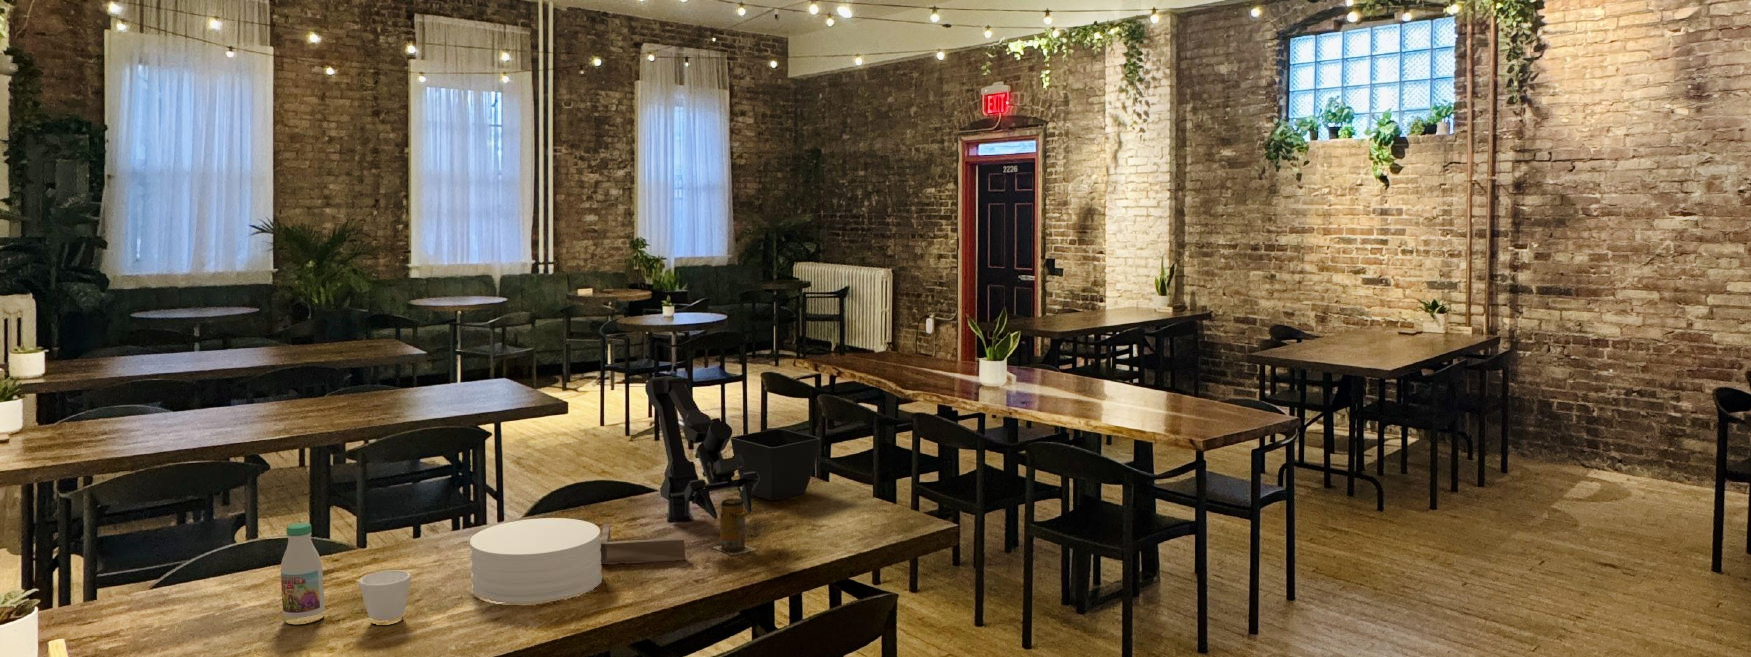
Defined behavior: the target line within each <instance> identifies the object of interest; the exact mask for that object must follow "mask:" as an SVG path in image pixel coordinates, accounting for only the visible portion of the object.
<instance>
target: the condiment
mask: <svg viewBox="0 0 1751 657" xmlns="http://www.w3.org/2000/svg"><path fill="white" fill-rule="evenodd" d="M719 514H720V515H719V518H720V520H719V525H720V526H719V527H720V533H719V534H720V545H715V546H713V547H712V548H713V549H716V550H717V551H720V552H724V553H725V554H728V555H730V556H731V555H739V554H745V553H747V552H753V551H757V549H756V548H754V547H751V546H748V545H746V512H745V510H744V504H743V501H742V500H741V498H726V499H723V500H721V511H720V513H719Z"/></svg>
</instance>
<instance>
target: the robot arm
mask: <svg viewBox="0 0 1751 657" xmlns="http://www.w3.org/2000/svg"><path fill="white" fill-rule="evenodd" d="M686 385H687V384H686V380H685V378H684V377H682V376H677V377H676V376H675V377H673V376H672V375H667V376H660V377H658V376H657V377H650V378H649V379H648V381H647V382H646V383H645V386H644V389H645V390H644V391H645V393H646V395H647V397H648V401H649V403H650V404H651V406H652V407H653V408H654V409H655V410H657V415H658V418H659V424H660V429H661V433H662V438H663V443H664V448H665V452H666V457H667V465H666V468H665V471H664V480H663V482H662V484H661V486H660V487H659V492H660V497H661V498H664V499H665V500H667V506H668V507H667V508H668V509H667V510H668V511H667V514H666V521H667V522H668V523H670V522H684V521H685V522H686V521H692V520H693V516H692V512H691V504H693V505H697V506H698V507H700V508H701V509H702V510H704V511H705V512H707V514H708V515H710V516H711V517H712V518H713V519H714V520H717V519H718V513H717V509H716V508H715V505H714V503H713V500H712V499H711V495H710V492H716V491H723V490H724V491H725V490H730V489H736V488H737V491H738V492H739V495H738V496H739V499H740V500H742V501H743V507H744V508H745V510H746V511H747V512H748V514H751V512H752V495H751V493H752V491H754V490H755V488H756V486H757V484H758V483H759V481H760V477H759V475H758V473H757V472H747V473H742V475H741V477H740V476H739V478H738V479H732V478H734V477H735V475H736V473H735V472H737V471H738V470H739V468H741V467H742V466H744V461H743V458H742V456H741V454H737V455H734V454H733V455H732V456H731V457H726V458H724V456H723V454H722V452H723V451H724V450H725V449H726V447H727V445H728V443H729V442H730V440H731V437H733V436H732V435H733V429H732V427H731V426H730V425H729V424H728V423H727V422H725V421H721V418H720V417H716V418H711V417H710V416H709V415H708V414H707V413H704V412H702V411H701V410H700V408H699V406H698V404H697V403H696V401H695V399H694V397H693V396H692V395H691V394H692V393H691V392H690V391H689V388H688V387H687V386H686ZM677 411H678V413H679V416H680V417H681V419H682V420H683V424H684V426H683V433H684V437H685V439H686V441H687V443H689V444H690V445H695V444H699V445H697V447H696V450H695V456H694V458H695V459H699V462H700V465H701V467H702V470H703V471H702V476H703V478H702V479H699V476H698V474H697V469H696V464H695V463H694V461H690V460H689V459H688V458H687V455H686V451H685V446H684V441H683V437H682V432H681V427H680V423H679V418H678V415H677ZM704 478H706V480H705V479H704ZM706 481H707V482H706ZM690 503H691V504H690Z"/></svg>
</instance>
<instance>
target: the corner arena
mask: <svg viewBox="0 0 1751 657" xmlns="http://www.w3.org/2000/svg"><path fill="white" fill-rule="evenodd" d="M600 541H601V549H600V551H601V564H609V565H619V564H618V563H626V564H640V563H641V564H643V563H661V562H674V561H675V562H676V560H679V561H685V538H684V537H677V538H676V537H674V538H673V537H672V538H657V539H656V538H655V539H654V538H653V539H640V540H621V541H620V540H619V541H618V540H617V541H611V524H610V523H603V527H602V531H601V535H600Z"/></svg>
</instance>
